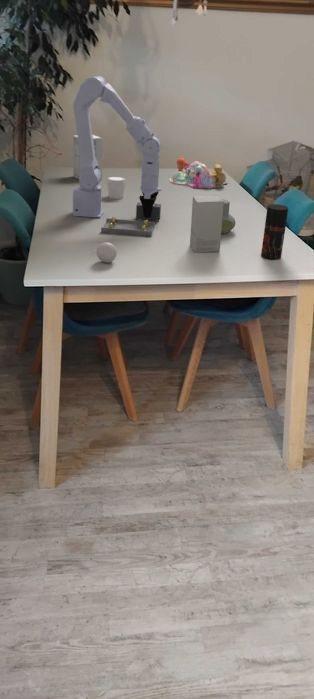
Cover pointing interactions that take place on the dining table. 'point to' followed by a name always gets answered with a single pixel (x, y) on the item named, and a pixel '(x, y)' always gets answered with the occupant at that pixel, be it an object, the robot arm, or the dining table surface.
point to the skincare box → (206, 223)
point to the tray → (128, 227)
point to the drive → (154, 215)
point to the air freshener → (227, 218)
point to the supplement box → (77, 157)
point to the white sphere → (106, 252)
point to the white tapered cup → (116, 187)
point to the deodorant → (274, 231)
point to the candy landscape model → (198, 175)
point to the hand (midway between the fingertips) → (148, 214)
